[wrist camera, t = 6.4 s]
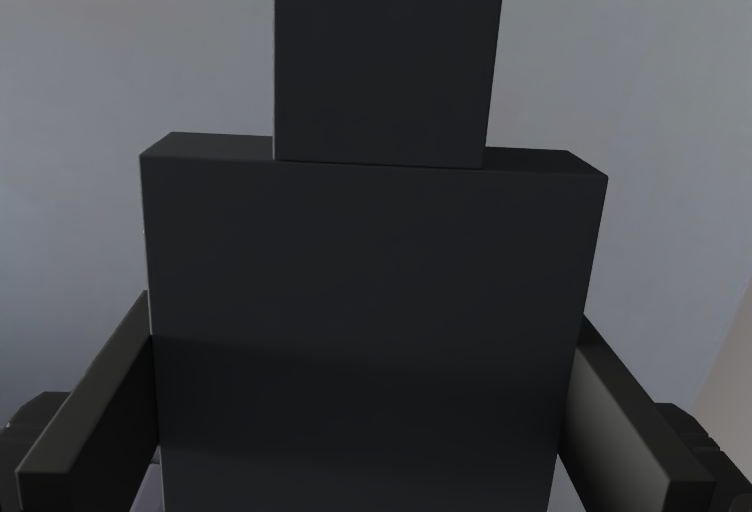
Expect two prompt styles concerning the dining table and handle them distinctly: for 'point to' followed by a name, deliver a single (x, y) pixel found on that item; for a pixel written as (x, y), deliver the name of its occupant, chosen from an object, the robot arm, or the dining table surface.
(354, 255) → the pad
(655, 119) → the dining table surface
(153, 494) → the container
